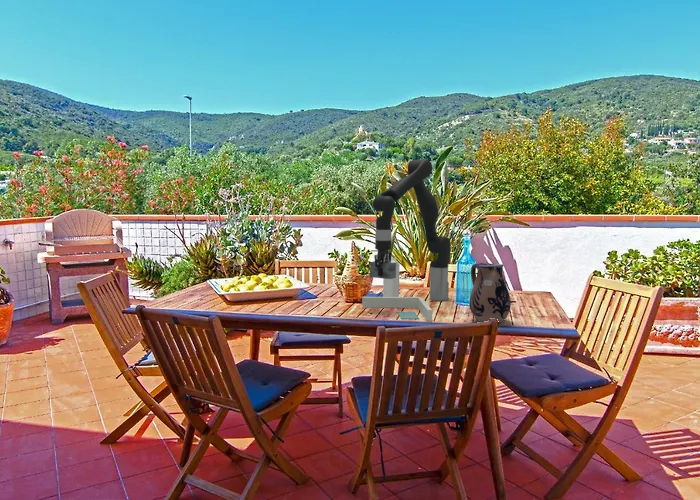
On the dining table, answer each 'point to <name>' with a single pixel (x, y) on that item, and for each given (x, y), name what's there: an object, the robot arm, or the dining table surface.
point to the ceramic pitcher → (489, 293)
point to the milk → (392, 283)
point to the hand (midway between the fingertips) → (382, 275)
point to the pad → (408, 315)
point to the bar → (388, 270)
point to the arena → (398, 304)
